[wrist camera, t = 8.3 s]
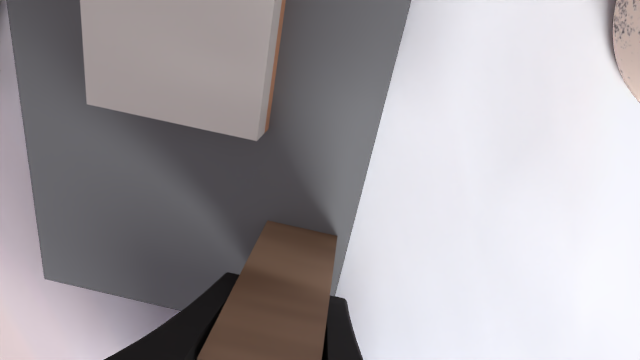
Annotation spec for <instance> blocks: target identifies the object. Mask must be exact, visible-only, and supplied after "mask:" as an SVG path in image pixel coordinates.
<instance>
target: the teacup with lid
mask: <svg viewBox="0 0 640 360" xmlns="http://www.w3.org/2000/svg"><path fill="white" fill-rule="evenodd" d="M613 44H614V52H615V57H616V61H617V64H618V68H619V71H620V73H621V75H622V77H623V80H624V82H625V84H626V85H627V87H628V88H629V90H630V91H631V93H632V94H633V96H634V97H635V98H636V99H637V100H638V102H639V103H640V0H616V5H615V11H614V19H613Z"/></svg>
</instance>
